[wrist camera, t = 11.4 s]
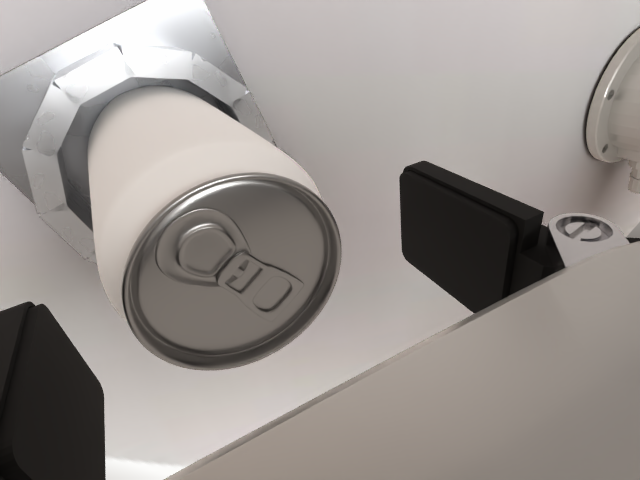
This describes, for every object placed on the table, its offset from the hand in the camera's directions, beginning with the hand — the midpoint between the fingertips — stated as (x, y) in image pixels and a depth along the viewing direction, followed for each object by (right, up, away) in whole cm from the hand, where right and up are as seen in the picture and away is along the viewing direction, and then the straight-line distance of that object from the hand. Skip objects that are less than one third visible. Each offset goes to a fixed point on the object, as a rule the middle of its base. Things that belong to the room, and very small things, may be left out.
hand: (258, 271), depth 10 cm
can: (-6, +5, +9) cm, 12 cm away
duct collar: (-7, +5, +9) cm, 13 cm away
